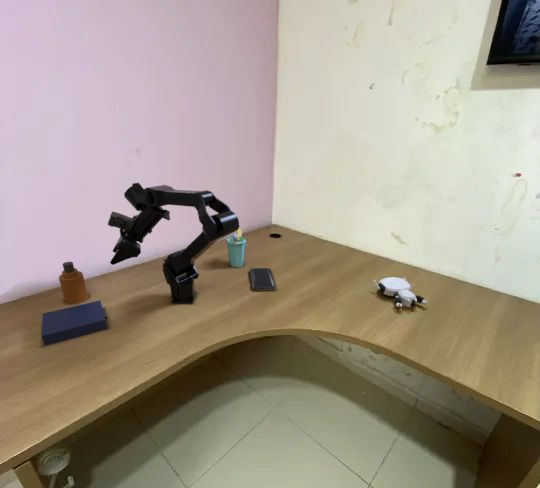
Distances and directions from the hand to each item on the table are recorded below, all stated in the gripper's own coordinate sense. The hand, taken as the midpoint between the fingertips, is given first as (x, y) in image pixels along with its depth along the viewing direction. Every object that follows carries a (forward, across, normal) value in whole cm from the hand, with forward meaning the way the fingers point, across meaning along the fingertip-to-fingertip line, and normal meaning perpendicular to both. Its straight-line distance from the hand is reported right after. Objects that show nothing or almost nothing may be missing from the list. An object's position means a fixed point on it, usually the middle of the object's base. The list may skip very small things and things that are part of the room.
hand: (112, 257), depth 95 cm
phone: (-24, +4, +42) cm, 49 cm away
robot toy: (-53, +29, +71) cm, 93 cm away
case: (+16, +15, +2) cm, 22 cm away
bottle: (+18, 0, 0) cm, 18 cm away
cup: (-20, -10, +38) cm, 45 cm away
